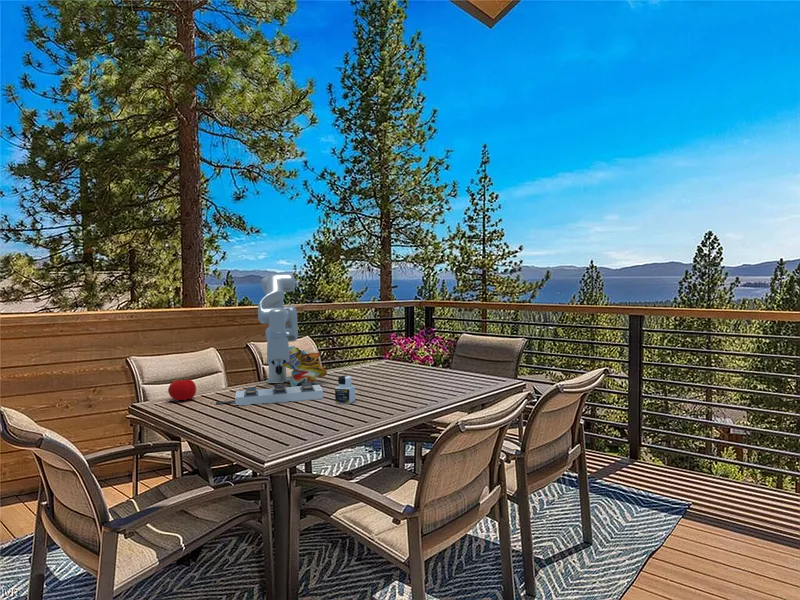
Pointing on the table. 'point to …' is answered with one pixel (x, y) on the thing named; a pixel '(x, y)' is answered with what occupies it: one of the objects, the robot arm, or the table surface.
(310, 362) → the multicoloured irregular chunky piece
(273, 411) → the table surface
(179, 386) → the tomato
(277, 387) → the rocker middle
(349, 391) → the medicine bottle
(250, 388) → the rocker
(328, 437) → the table surface
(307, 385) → the rocker
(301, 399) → the rocker switch panel
